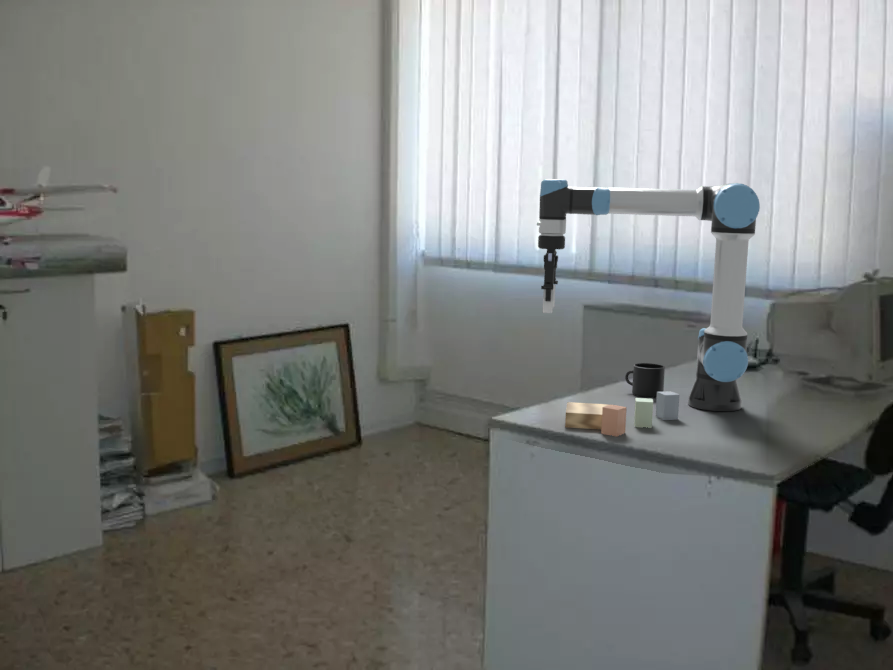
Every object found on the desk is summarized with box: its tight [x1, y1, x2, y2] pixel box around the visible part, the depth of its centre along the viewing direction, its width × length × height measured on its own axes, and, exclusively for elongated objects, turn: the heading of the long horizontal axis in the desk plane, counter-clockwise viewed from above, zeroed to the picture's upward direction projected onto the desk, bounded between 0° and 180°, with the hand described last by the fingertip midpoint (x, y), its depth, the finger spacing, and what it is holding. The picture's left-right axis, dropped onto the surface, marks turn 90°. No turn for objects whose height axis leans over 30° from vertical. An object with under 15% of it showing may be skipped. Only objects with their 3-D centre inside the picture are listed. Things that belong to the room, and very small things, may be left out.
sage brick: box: [633, 397, 654, 429], centre depth 275 cm, size 4×4×7 cm
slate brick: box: [655, 390, 680, 421], centre depth 284 cm, size 4×4×7 cm
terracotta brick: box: [600, 404, 627, 437], centre depth 265 cm, size 4×4×7 cm
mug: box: [624, 362, 666, 399], centre depth 315 cm, size 9×12×9 cm
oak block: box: [564, 401, 610, 430], centre depth 276 cm, size 13×13×4 cm
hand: (548, 309), depth 291 cm, fingers open, 13 cm apart
